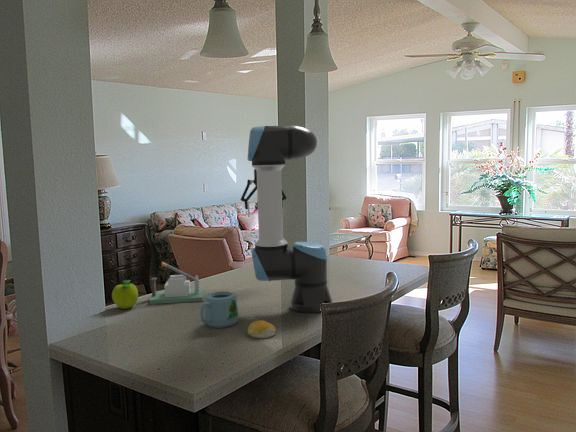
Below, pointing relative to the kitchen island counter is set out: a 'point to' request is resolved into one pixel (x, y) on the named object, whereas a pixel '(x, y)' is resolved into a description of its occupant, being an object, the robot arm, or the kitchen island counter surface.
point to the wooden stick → (178, 271)
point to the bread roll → (261, 329)
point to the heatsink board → (177, 299)
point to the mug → (220, 310)
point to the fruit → (125, 295)
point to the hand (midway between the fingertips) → (264, 216)
